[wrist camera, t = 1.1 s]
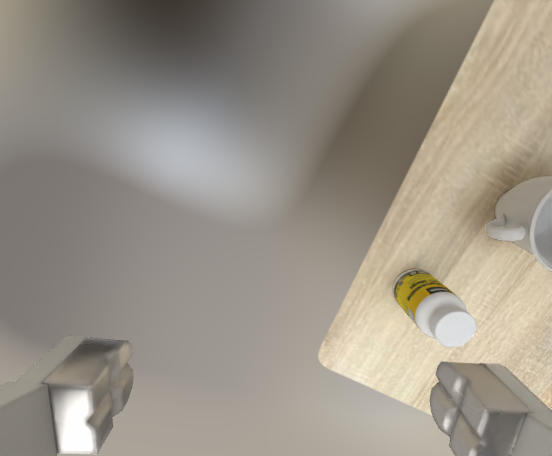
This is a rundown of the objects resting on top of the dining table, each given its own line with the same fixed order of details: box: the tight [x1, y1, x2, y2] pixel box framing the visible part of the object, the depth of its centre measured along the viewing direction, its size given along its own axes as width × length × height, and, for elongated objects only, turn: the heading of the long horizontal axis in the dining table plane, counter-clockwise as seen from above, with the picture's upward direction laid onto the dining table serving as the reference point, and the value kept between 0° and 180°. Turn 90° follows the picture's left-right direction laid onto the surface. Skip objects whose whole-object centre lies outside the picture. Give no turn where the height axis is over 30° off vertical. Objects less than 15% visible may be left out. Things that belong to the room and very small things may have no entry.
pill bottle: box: [393, 269, 476, 348], centre depth 39 cm, size 6×6×11 cm
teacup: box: [486, 176, 552, 272], centre depth 37 cm, size 12×15×10 cm
